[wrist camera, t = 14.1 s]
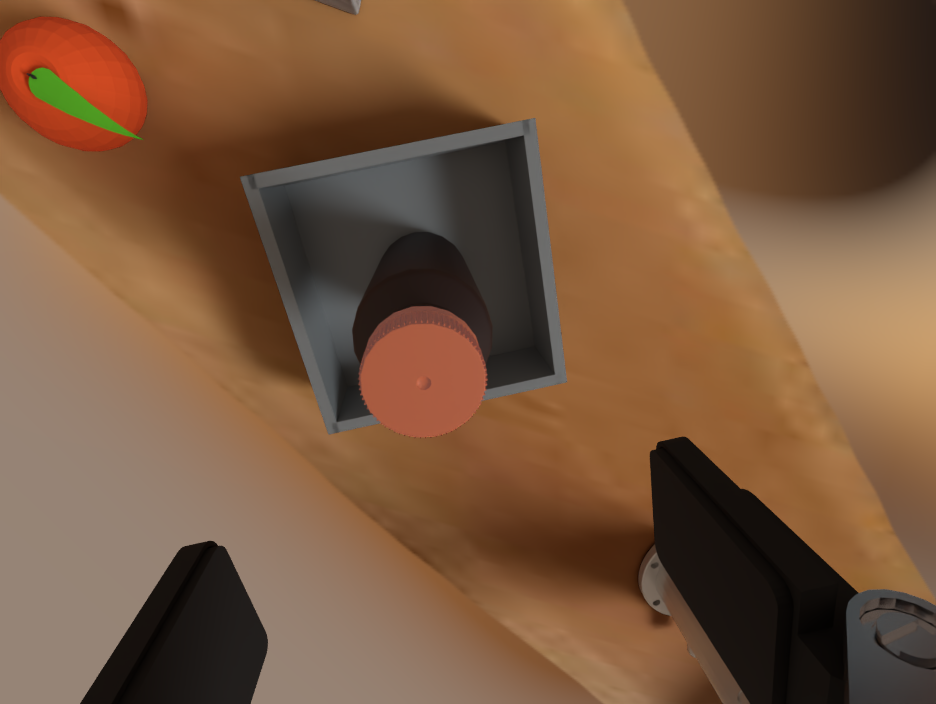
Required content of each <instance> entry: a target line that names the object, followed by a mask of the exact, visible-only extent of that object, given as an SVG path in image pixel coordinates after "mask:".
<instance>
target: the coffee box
mask: <svg viewBox="0 0 936 704" xmlns="http://www.w3.org/2000/svg"><path fill="white" fill-rule="evenodd" d="M316 1H318V2H321V3H324V4H327V5H329V6H332V7H335V8H338V9H340V10H343V11H346V12H349V13H351V14H354V15H356V14H358V13H359V9H360V3H361V0H316Z"/></svg>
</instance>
